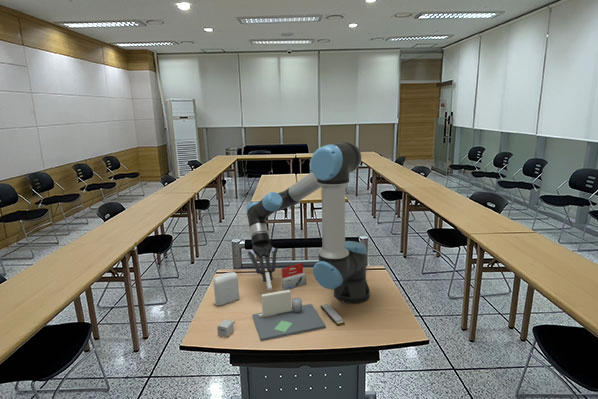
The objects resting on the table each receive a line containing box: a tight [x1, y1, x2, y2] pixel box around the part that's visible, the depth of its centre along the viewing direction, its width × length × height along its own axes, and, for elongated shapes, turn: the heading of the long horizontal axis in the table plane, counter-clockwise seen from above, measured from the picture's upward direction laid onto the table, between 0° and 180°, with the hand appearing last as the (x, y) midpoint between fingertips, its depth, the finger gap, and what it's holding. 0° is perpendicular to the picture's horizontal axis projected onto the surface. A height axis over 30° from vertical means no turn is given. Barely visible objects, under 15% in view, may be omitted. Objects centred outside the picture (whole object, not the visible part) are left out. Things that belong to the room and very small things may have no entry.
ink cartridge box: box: [281, 262, 307, 291], centre depth 166 cm, size 2×11×10 cm, turn 121°
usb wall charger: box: [216, 319, 236, 338], centre depth 135 cm, size 4×7×4 cm, turn 160°
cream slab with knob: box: [259, 289, 303, 317], centre depth 143 cm, size 17×4×8 cm, turn 107°
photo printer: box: [212, 271, 240, 306], centre depth 154 cm, size 10×4×12 cm, turn 123°
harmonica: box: [320, 303, 345, 327], centre depth 144 cm, size 15×3×2 cm, turn 22°
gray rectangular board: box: [251, 303, 327, 342], centre depth 140 cm, size 24×16×1 cm, turn 107°
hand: (269, 288), depth 150 cm, fingers closed
